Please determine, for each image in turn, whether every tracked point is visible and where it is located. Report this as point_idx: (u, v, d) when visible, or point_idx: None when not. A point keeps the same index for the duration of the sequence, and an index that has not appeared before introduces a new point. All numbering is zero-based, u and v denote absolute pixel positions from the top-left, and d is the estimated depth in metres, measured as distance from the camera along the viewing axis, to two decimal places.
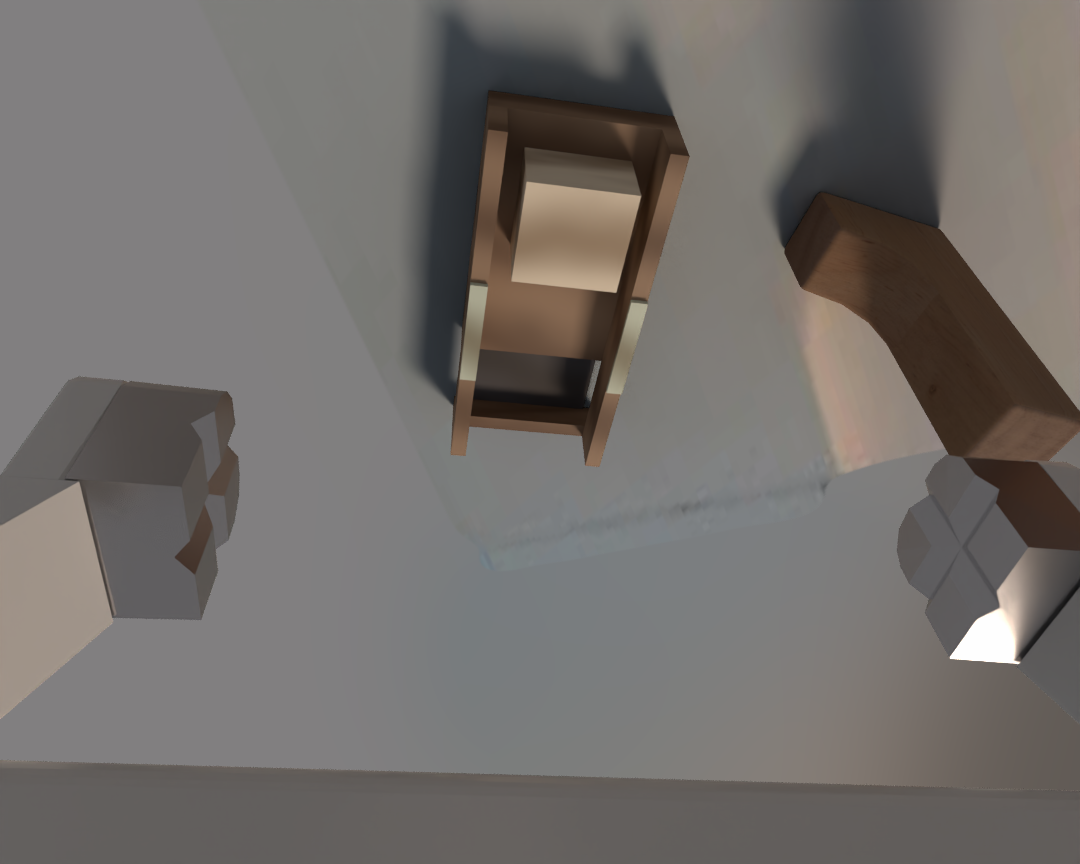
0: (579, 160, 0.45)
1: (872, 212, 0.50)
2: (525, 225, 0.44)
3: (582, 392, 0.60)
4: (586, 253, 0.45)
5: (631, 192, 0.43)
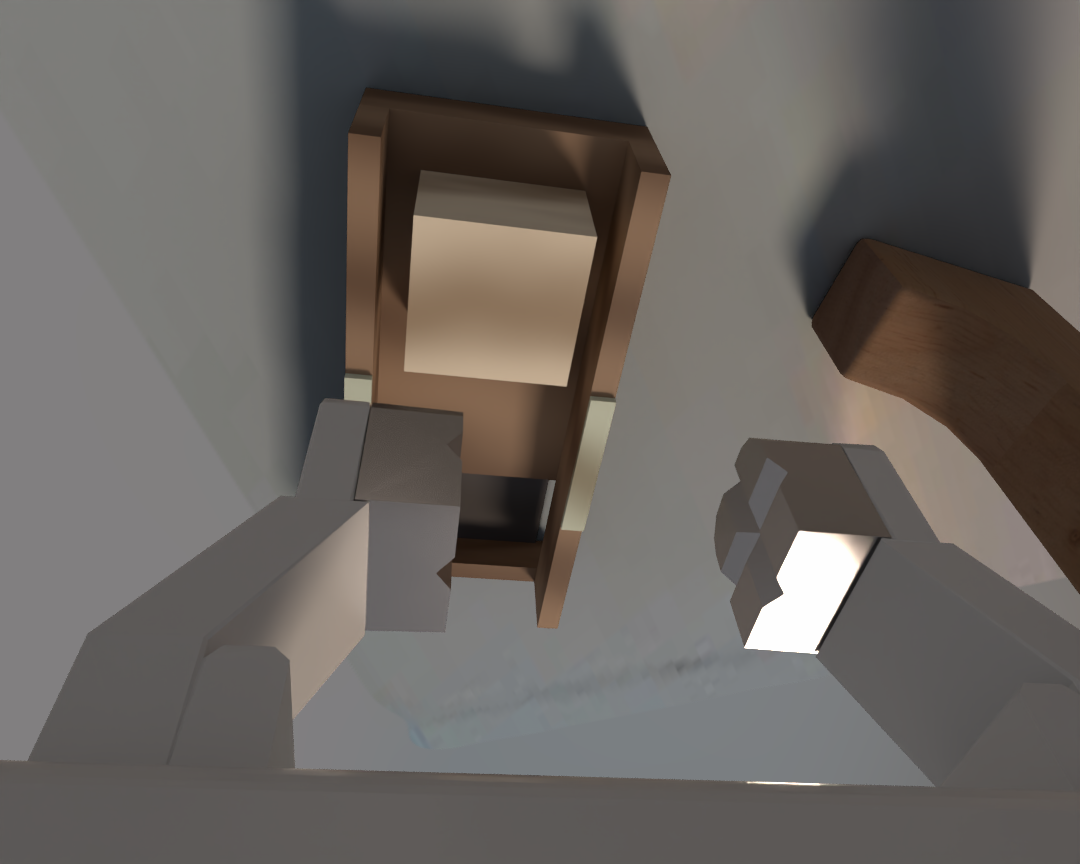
0: (504, 188, 0.29)
1: (939, 266, 0.34)
2: (417, 285, 0.28)
3: (533, 521, 0.43)
4: (516, 328, 0.29)
5: (581, 232, 0.27)
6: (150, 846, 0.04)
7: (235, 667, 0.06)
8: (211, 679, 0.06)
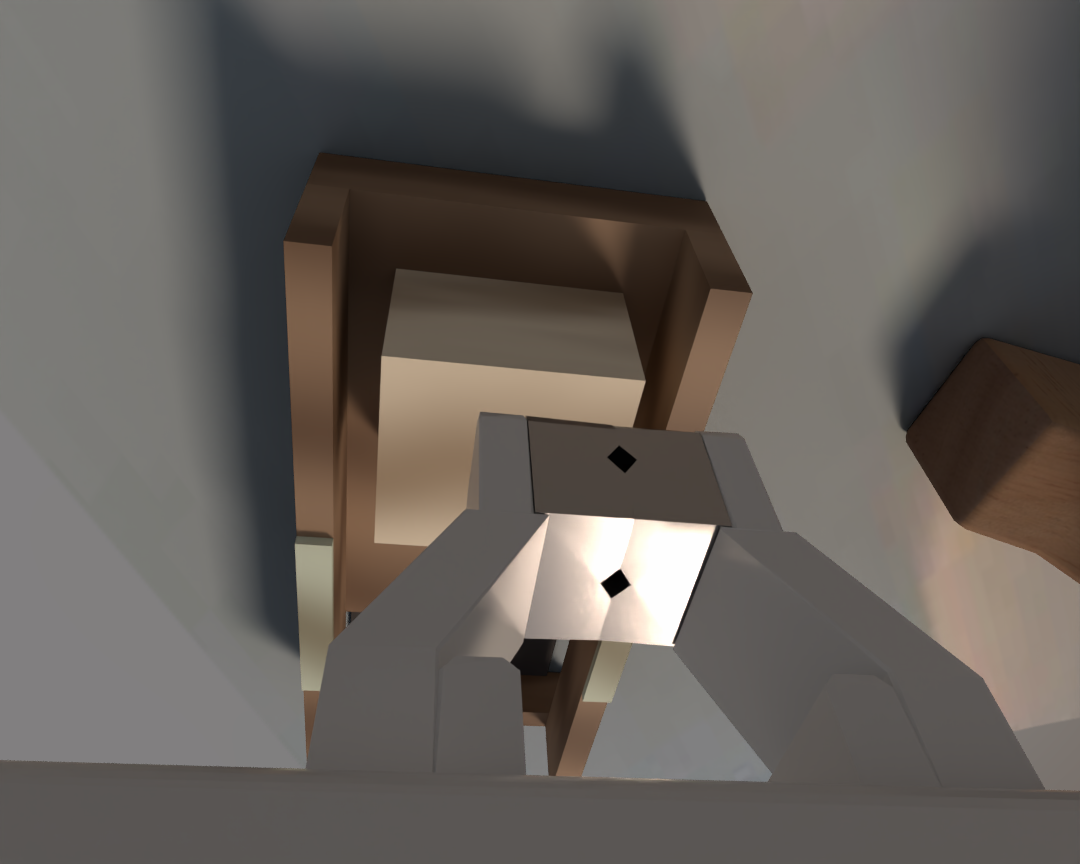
0: (511, 296, 0.21)
1: None
2: (389, 443, 0.20)
3: (544, 654, 0.35)
4: None
5: (623, 372, 0.19)
6: (150, 847, 0.04)
7: (471, 676, 0.06)
8: (453, 689, 0.06)
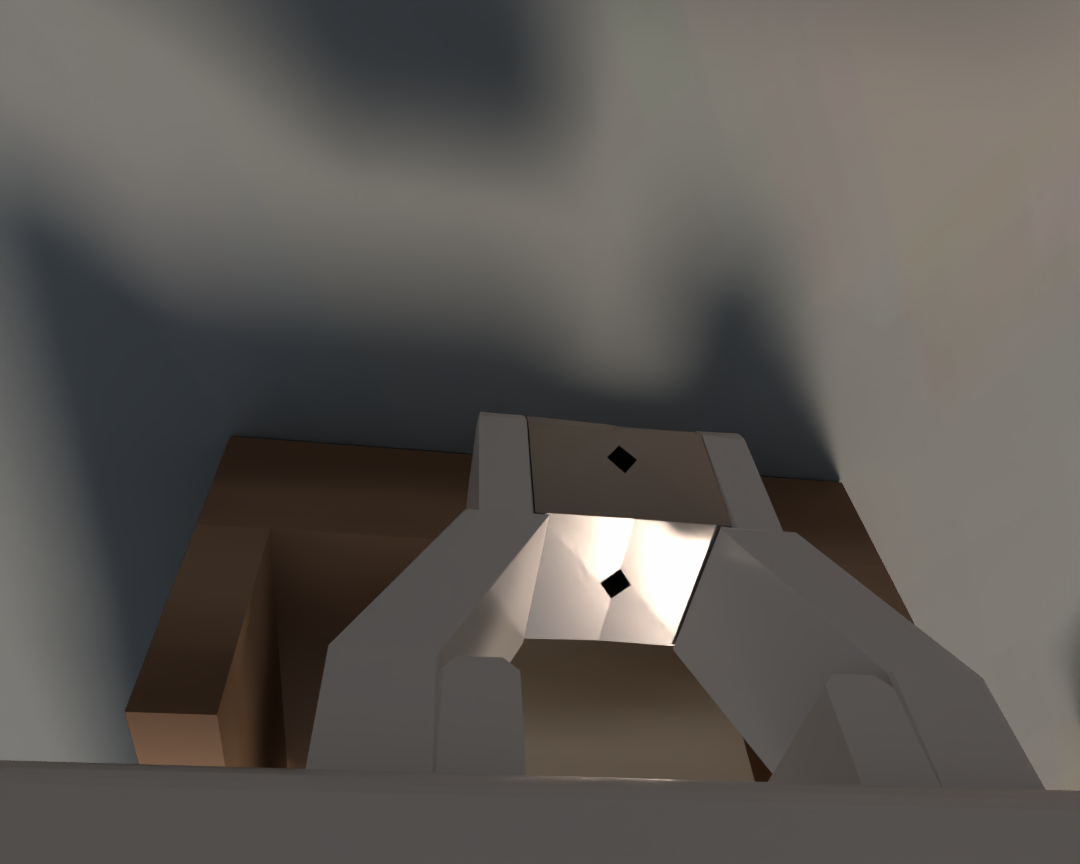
0: (542, 673, 0.13)
1: None
2: None
3: None
4: None
5: None
6: (150, 847, 0.04)
7: (471, 677, 0.06)
8: (453, 689, 0.06)
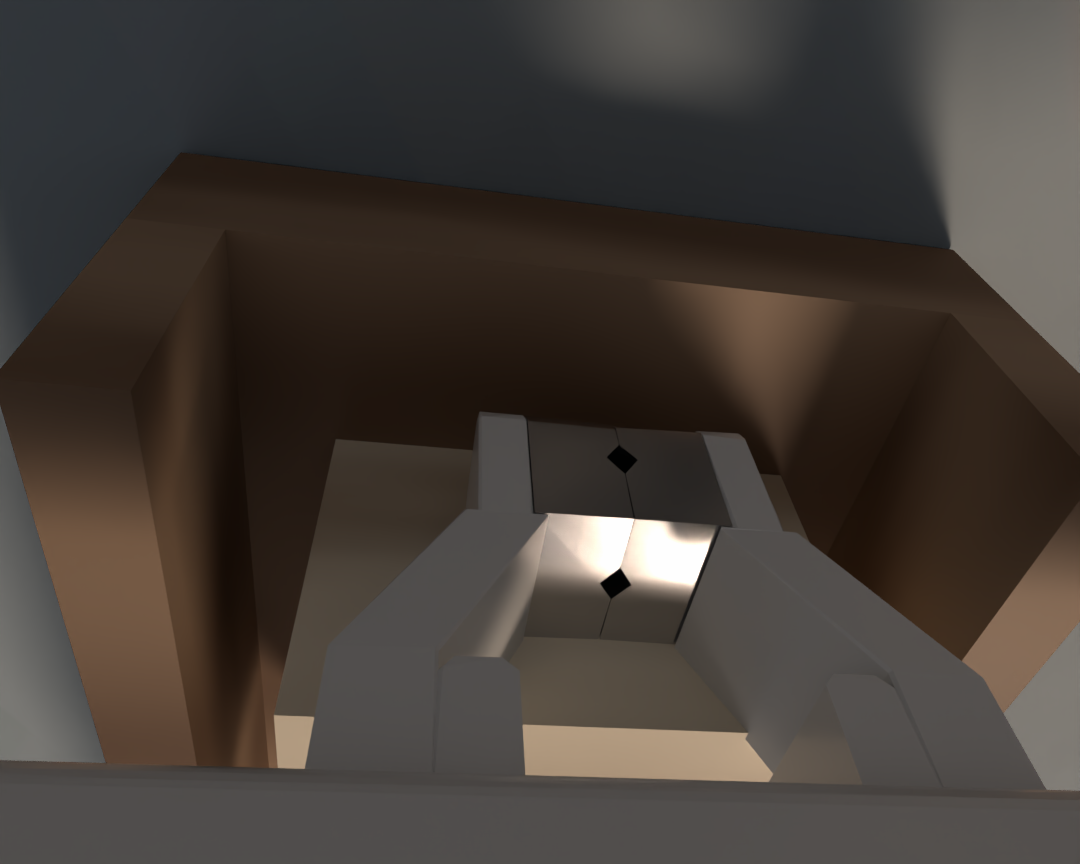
0: None
1: None
2: None
3: None
4: None
5: None
6: (150, 846, 0.04)
7: (470, 678, 0.06)
8: (452, 689, 0.06)
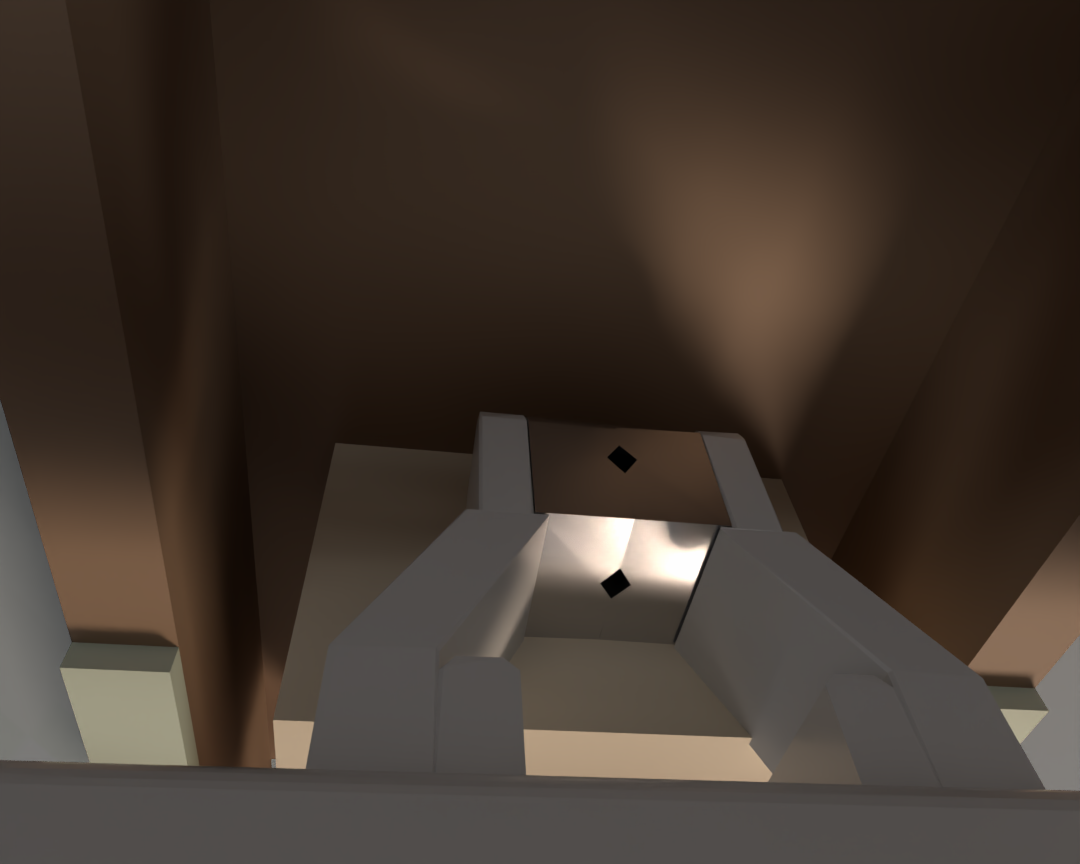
0: None
1: None
2: None
3: None
4: None
5: None
6: (150, 846, 0.04)
7: (471, 676, 0.06)
8: (453, 689, 0.06)
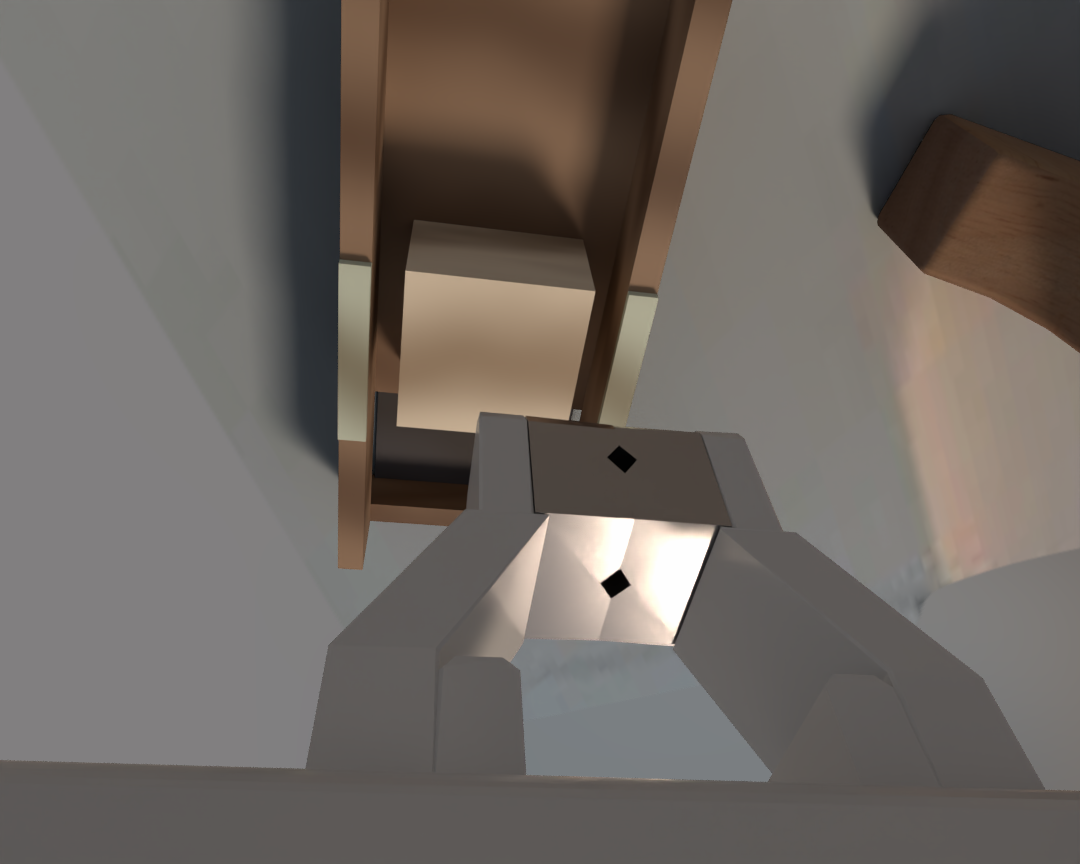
0: (499, 239, 0.29)
1: (1030, 145, 0.29)
2: (410, 341, 0.27)
3: None
4: (513, 382, 0.28)
5: (579, 286, 0.27)
6: (150, 847, 0.04)
7: (471, 678, 0.06)
8: (453, 690, 0.06)
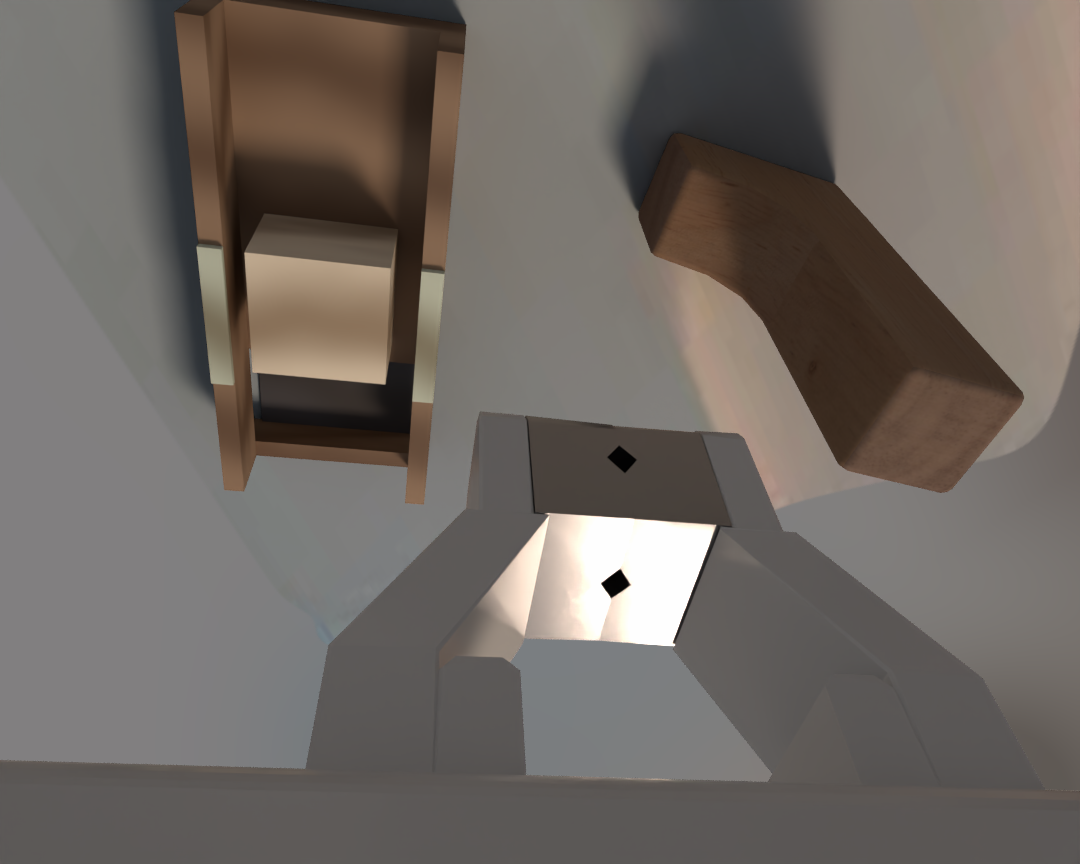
0: (329, 228, 0.37)
1: (743, 157, 0.38)
2: (254, 305, 0.36)
3: (408, 412, 0.47)
4: (338, 338, 0.37)
5: (379, 264, 0.35)
6: (149, 847, 0.04)
7: (471, 678, 0.06)
8: (453, 689, 0.06)
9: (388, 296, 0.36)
